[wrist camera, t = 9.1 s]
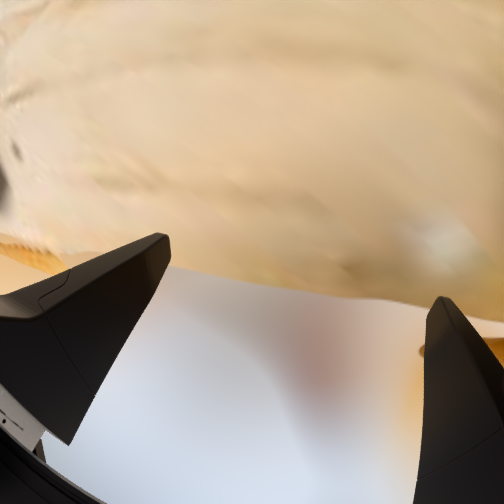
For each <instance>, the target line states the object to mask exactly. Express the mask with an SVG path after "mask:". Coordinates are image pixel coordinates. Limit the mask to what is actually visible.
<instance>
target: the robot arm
mask: <svg viewBox="0 0 504 504" xmlns="http://www.w3.org/2000/svg"><path fill="white" fill-rule="evenodd" d="M170 259H171V249H170V240H169V236H168V235H167V234H163V233H154V234H152V235H149V236H147V237H144V238H142V239H139V240H137V241H134V242H132V243H129V244H127V245H124V246H122V247H120V248H117V249H115V250H112V251H110V252H108V253H105V254H103V255H101V256H98V257H96V258H94V259H91V260H89V261H87V262H84V263H82V264H80V265H77V266H75V267H73V268H72V269H68V270H66V271H64V272H62V273H59V274H57V275H55V276H52V277H50V278H47V279H45V280H42V281H40V282H37V283H35V284H32V285H29V286H27V287H24V288H21V289H19V290H17V291H14V292H11V293H9V294H5V295H0V504H107V503H105V502H103V501H101V500H100V499H98V498H96V497H95V496H93V495H91V494H90V493H88V492H86V491H85V490H83V489H82V488H80V487H79V486H77V485H76V484H74V483H73V482H71V481H70V480H68V479H67V478H65V477H64V476H62V475H61V474H60V473H58V472H57V471H55V470H54V469H53V468H51V467H50V466H49V465H47V464H46V460H45V455H44V451H43V445H42V440H41V439H40V438H41V436H42V435H43V433H44V432H45V430H47V431H48V432H49V433H51V434H52V435H53V436H55V437H56V438H58V439H59V440H60V441H62V442H63V443H65V444H66V445H68V446H69V445H70V443H71V442H72V440H73V438H74V436H75V433H76V432H77V430H78V428H79V426H80V424H81V422H82V420H83V418H84V416H85V414H86V412H87V411H88V409H89V407H90V405H91V403H92V401H93V399H94V398H95V395H96V393H97V392H98V390H99V388H100V386H101V384H102V382H103V381H104V379H105V377H106V375H107V373H108V372H109V370H110V368H111V366H112V365H113V363H114V361H115V359H116V358H117V356H118V354H119V352H120V351H121V349H122V347H123V345H124V343H125V342H126V340H127V339H128V337H129V335H130V333H131V332H132V330H133V328H134V327H135V325H136V323H137V322H138V320H139V318H140V317H141V315H142V313H143V312H144V310H145V309H146V307H147V305H148V304H149V302H150V300H151V299H152V297H153V295H154V293H155V291H156V289H157V287H158V285H159V283H160V280H161V279H162V277H163V274H164V272H165V270H166V268H167V266H168V264H169V262H170ZM413 504H504V368H503V366H502V365H501V364H500V362H499V361H498V359H497V358H496V357H495V355H494V354H493V352H492V351H491V350H490V348H489V347H488V346H487V344H486V343H485V341H484V340H483V339H482V337H481V336H480V335H479V334H478V332H477V331H476V330H475V328H474V327H473V326H472V325H471V323H470V322H469V321H468V320H467V318H466V317H465V316H464V314H463V313H462V312H461V311H460V310H459V308H458V307H457V306H456V305H455V303H454V302H453V301H452V300H451V299H450V298H448V297H444V296H439V297H438V298H437V299H436V300H435V302H434V304H433V306H432V308H431V309H430V311H429V313H428V315H427V319H426V336H425V351H424V407H423V427H422V440H421V451H420V461H419V469H418V476H417V482H416V488H415V494H414V500H413Z"/></svg>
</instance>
